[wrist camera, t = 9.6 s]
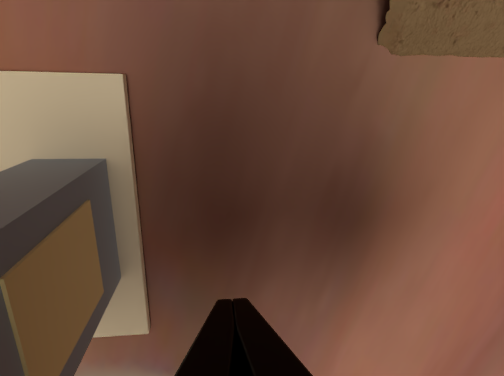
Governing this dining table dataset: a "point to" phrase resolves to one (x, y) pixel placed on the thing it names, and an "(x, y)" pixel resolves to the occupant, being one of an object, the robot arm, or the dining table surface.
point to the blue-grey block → (54, 263)
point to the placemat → (84, 147)
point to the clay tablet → (444, 28)
